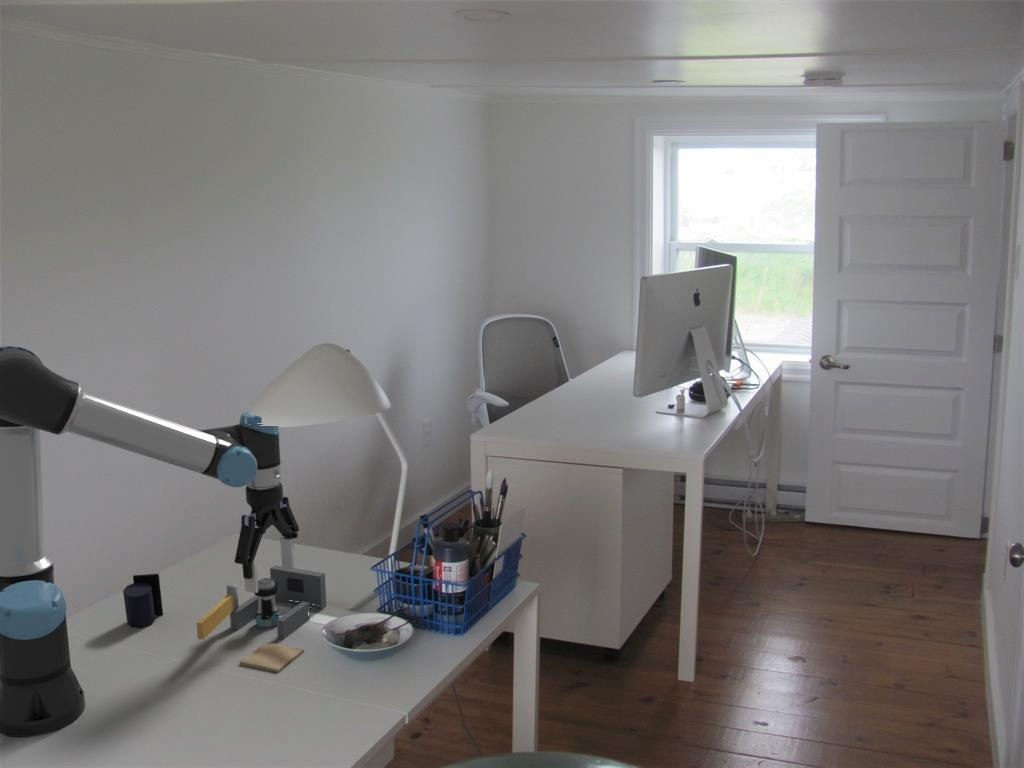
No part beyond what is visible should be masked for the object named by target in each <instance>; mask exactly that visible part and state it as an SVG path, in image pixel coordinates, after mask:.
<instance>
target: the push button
mask: <svg viewBox="0 0 1024 768" xmlns="http://www.w3.org/2000/svg"><path fill="white" fill-rule="evenodd" d="M278 587H279V584H278V583H277V582H275V581H274V580H273V579H271V577H264V578H261V579H258V592H257V593H254V596H255V595H256V596H258V611H257V613H256V618H255V622H256V623H255V624H256V627H257V629H260V628H265V627H266V628H270V627H274V626H276V627H277V620H278V619H279V618H281V617H282V616H283V615H284V614H283V615H280V614H279V610H278V609H277V608H276V602H275V594H276V593H277V591H278ZM261 597H262V608H261Z"/></svg>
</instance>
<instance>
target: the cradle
mask: <svg viewBox="0 0 1024 768" xmlns="http://www.w3.org/2000/svg"><path fill="white" fill-rule="evenodd" d="M269 575H270V576H269V577H270V578H271V579H273V580H274V581H275V582H277V583H278V584H279V587H278V591H277V593H276V594H275V603H277V604H283V605H284V604H285V605H290V606H294V605H295V606H294V607H293V608H292V609H290V610H289V611H288V612H286V613H284V614H283V616H282V615H281V616H282V617H281V618H279V619H278V620H277V625H276V629H277V631H276V634H277V639H281V640H284V639H286V638H288V636H290V635H291V634H293V633H294V632H295V631H297V630H298V629H299V628H300V627H302V626H303V625H304V624H306V623H307V622H308V621H310V615H309V616H308V612H309V613H310V609H311V607H312V608H314V609H313V610H317V611H323V610H324V609H325V608H327V591H326V589H327V588H326V587H327V586H326V573H325V572H319V571H312V570H306V569H300V568H295V567H294V568H288V567H282V565H276V564H275V565H273V566H272V567H270V568H269ZM289 600H293V601H289ZM295 601H299V602H295ZM309 603H310V604H309ZM312 604H315V605H312ZM296 605H297V606H296ZM318 605H319V606H318ZM309 607H310V608H309ZM261 608H262V597H261ZM257 611H258V596H256V595H255V594H254V596H252V597H251V598H249V599H248V600H246V601H245V602H243V603H242V604H239V608H238V609H235V610H233V611H232V612H231V613H230V614H229V621H230V622H229V623H230V628H231V630H234V631H239V630H240V629H242V628H243V627H245V626H246V625H248V624H249V623H250V622H252V621H253V620H256V613H257Z"/></svg>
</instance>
